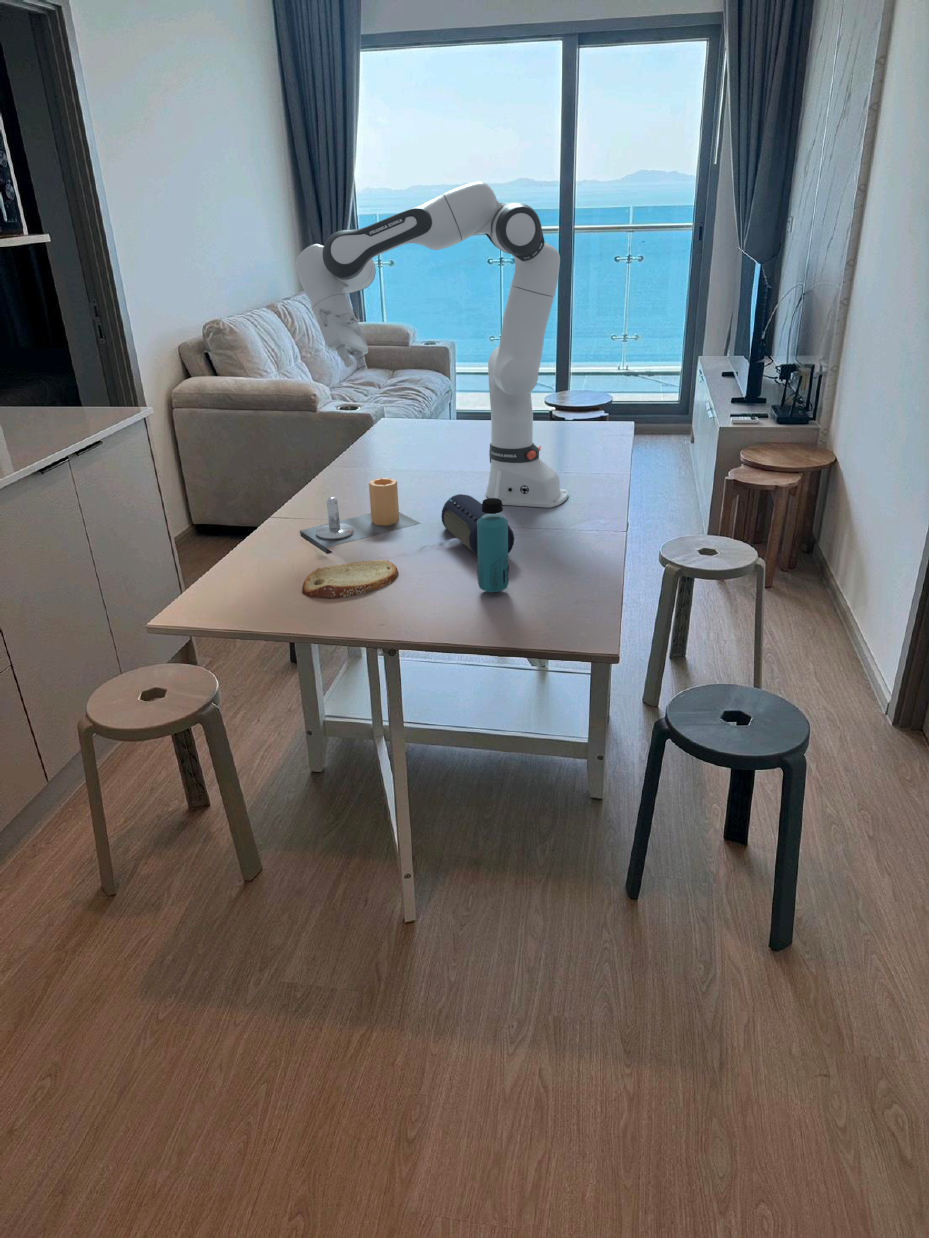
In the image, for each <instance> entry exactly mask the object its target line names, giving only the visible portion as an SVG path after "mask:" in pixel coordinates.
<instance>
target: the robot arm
mask: <svg viewBox="0 0 929 1238" xmlns="http://www.w3.org/2000/svg"><path fill="white" fill-rule="evenodd" d="M541 223H542V222H541V220H540V216H539V215H538V213H537V212H536V210H535V209H533V207H531V206H530V205H527V204H524V203H522V202H515V201H514V202H509V203H508V202H507V203H506V202H499V200H498V199H497V196H496V194H495V192H494V190H493V189H492V188H491V186H489V185H488V184H487V183H485V182H484V181H473V182H470V183H466V184H463V185H460V186H456V187H454V188H452V189H450V190H447V191H446V192H444V193H441V194H439V195H438V196H436V197H433V198H431V199H429V200H428V201H425V202H423V203H422V204H419V205H418V206H415V207H412V208H409V209H406V210H404V211H402V212H399V213H397V214H394V215H391V216H389V217H387V218H384V219H382V220H380V221H377V222H374V223H373V224H370V225H368V226H364V227H362V228H357V229H343V230H337V231H336V232H333V233H332V234H331V235H330V236H329V237H328V238H327V239H326V241H325V243H324V245H322V244H319V243H314V244H311V245H309V246H307V247H305V248H304V249H302V250H301V252H300V253H299V254H298V256H297V257H296V260H295V266H296V267H295V268H296V273H297V275H298V276H297V277H298V279H299V281H300V284H301V286H302V290H303V292H304V294H305V295H306V297H307V298H308V299H309V301H310V305H311V310H312V312H313V315H314V317H315V320H316V321H317V323H318V327H319V329H320V332H321V334H322V338H323V340H324V343H325V345H326V346H327V347H328V349H331V350H333V351H336V352H337V355H338V356H339V357H340V358H341V361H342V362H343V363H344V367H345V368H348V369H350V368H352V367H354V366H355V362H354V361H353V358H352V357H354V359H355V360H356V363H357V368H358V370H359V372H361V373H364V372H367V371H368V369H369V368H368V366H367V363H366V357H365V356H366V354H368V353H369V346H368V343H367V340H366V338H365V335H364V332H363V329H362V327H361V326H360V324H359V323H360V317H359V316H358V314H357V312H356V311H355V310H354V309H353V308H352V305H351V304H350V302H349V299H348V297H347V295H348V294H352V293H356V292H360V291H363V290H364V289H367V288H368V287H369V286H370V285H372V284H373V282H374V280H375V278H376V264H375V262H374V260H373V259H374V258H375V257H377V256H379V255H382V254H385V253H387V252H389V251H391V250H394V249H396V248H399V247H401V246H403V245H406V244H407V245H409V244H416V245H420V246H423V247H425V248H427V249H430V250H434V251H439V250H444V249H446V248H450V247H452V246H455V245H457V244H459V243H461V242H463V241H465V240H467V239H469V238H470V237H473V236H475V235H478V234H484V235H486V237H487V238H488V239H489V242H491V243H492V244H493V246H494V247H495V248H497V249H498V250H499V251H502V252H503V253H506V254H508V255H512V257H513V259H514V274H513V277H512V281H511V285H510V288H509V291H508V292H509V293H508V297H507V300H506V305H505V309H504V312H503V316H502V326H501V335H500V341H499V345H498V346H497V347H495V348H493V350H492V351H491V353H490V354H489V355H490V356H489V358H488V361H487V363H488V365H487V368H488V369H487V370H488V371H487V373H488V391H489V404H490V417H491V419H490V426H491V427H490V429H491V430H490V436H491V439H490V440H491V441H490V444H489V453H488V455H489V464H490V468H489V469H490V470H489V478H488V484H487V488H486V491H485V496H486V497H487V499H488V498H497V499H500V500H501V501H502V506H515V507H517V506H519V507H533V508H547V509H549V508H554V507H556V506H559V505H561V504H562V503H564V502H565V501H566V500H567V499H568V498H569V492H568V490H567V489H564V488H561V484H560V477H559V474H558V472H557V471H556V470H554V469H553V468H552V467H550V466H549V465H548V464H547V463H546V462H544V460H542V459H541V458H540V451H542V449H541V448H542V446H541V445H539V446H537V445H536V444H535V443H534V442H533V440H534V439H533V435H534V434H533V433H534V432H533V429H534V426H533V425H534V412H533V411H534V410H533V404H532V391H533V390H534V389H535V388H536V385H537V383H538V380H539V371H540V366H541V361H542V355H543V349H544V341H545V334H546V330H547V325H548V322H549V317H550V314H551V311H552V310H551V309H552V306H553V303H554V299H555V294H556V290H557V285H558V281H559V274H560V266H561V265H560V264H561V257H560V252H559V251H558V250H557V249H556V248H555V247H554V246H553V245H551V244H549V243H547V242H545V236H544V233H543V232H544V231H543V228H542V224H541Z"/></svg>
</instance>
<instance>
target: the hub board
mask: <svg viewBox="0 0 929 1238" xmlns="http://www.w3.org/2000/svg"><path fill="white" fill-rule="evenodd" d="M326 507H327V508H326V510H327V520H328V523H326V524H322V525H321V524H320V525H317V526H314V527H309V528H305V529H301V530H299V535H300V537H301V538H302V537H303V538H302V539H304V540H306V542H308V541H309V543H310V544H312V545H313V546H314V547H316V548H317V549H319V550H321V551H322V552H323V553H325V554H331V553H333V551H332V550H330V549H329V548H330V547H335V546H338V545H342V544H345V543H350V542H354V541H355V542H356V541H358V540H362V539H366V538H370V537H373V536H377V535H380V534H381V535H382V534H384V533H390V532H392V531H397V530H401V529H405V528H408V527H413V526H416V525H420V524H421V522H419V521H417V520H416V519H413V518H412V517H409V516H408V515H405V514H403V513H402V512H400V511H399V520H398V522H397V523H395V524H391V525H376V524H374V523H373V522H372V520H371V512H370V513H368V514H367V513H366V514H363V515H358V516H354V517H351V518H346V519H342V520H340V512H339V502H338V499H337V498H336V497H335V496H330V497H328V498H327V500H326Z"/></svg>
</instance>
